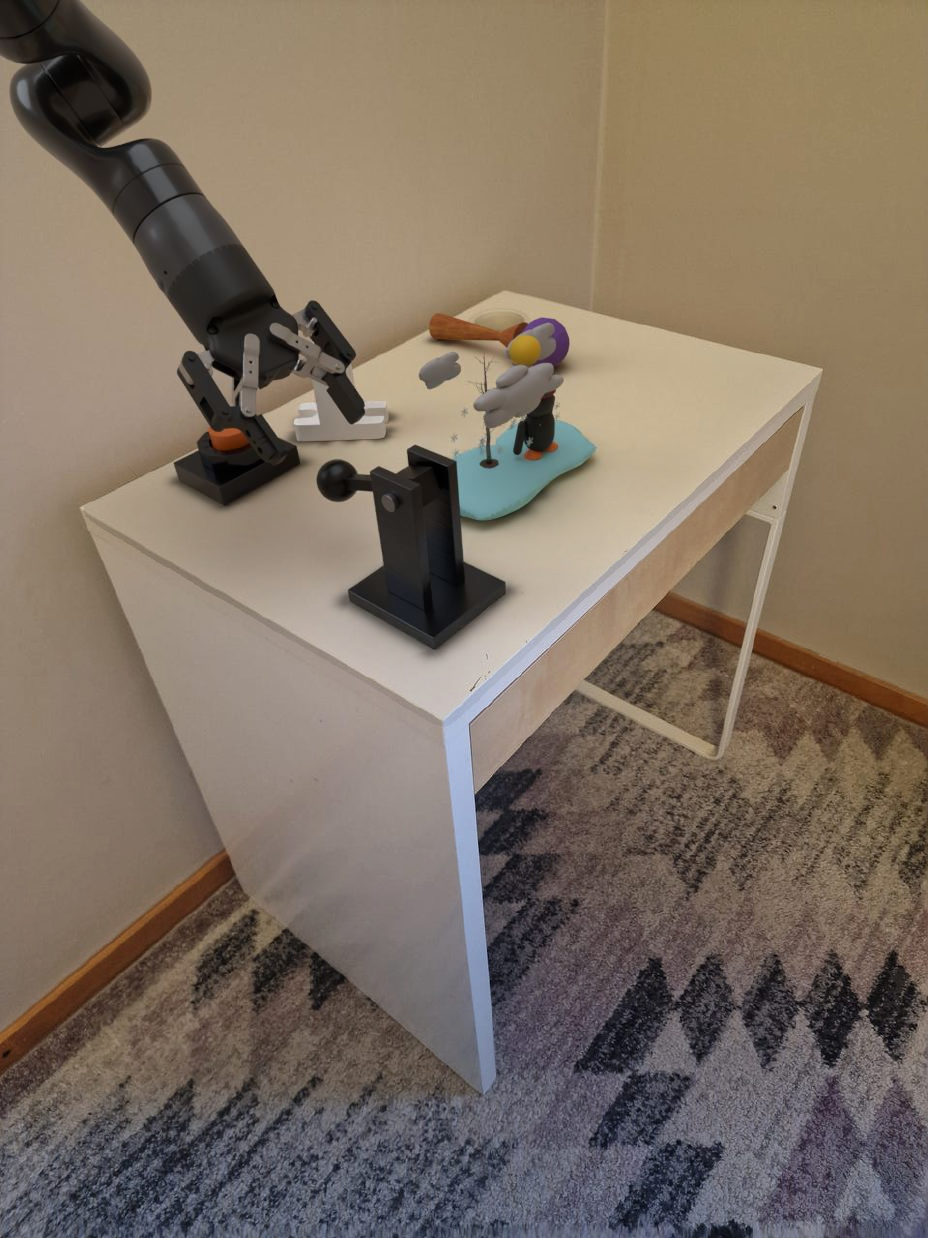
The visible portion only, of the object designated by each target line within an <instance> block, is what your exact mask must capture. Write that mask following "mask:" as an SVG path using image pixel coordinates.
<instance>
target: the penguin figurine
mask: <svg viewBox="0 0 928 1238" xmlns="http://www.w3.org/2000/svg"><path fill="white" fill-rule="evenodd" d="M554 331H555V328H554V326H553V324H551V323H545V324H542V325H540V326H538V327H535V328H534V329H532V330H531V329H530V330H528V331H525V332H523V333H521V334H520V335H518V336H517V337H516V338H515V339H513V340H512V341H511V342H510V343H509V345H508V347H507V348H506V349H505V356H506V359H508V360H510V361H511V362H512V365H513V366H512V367H510V368H508V369H507V370H506V371H504V372H503V373H502V374H500V376H498V377H497V379H496V380H495V387H492V388H489V389H488V381H487V380H488V379H487V371H490V370H491V368H489V367H490V365H491V363H493V359H494V357H495V355H493V357H492V359H491V361H489V362H488V363H487V364H488V365H487V366H486V362H485V361H486V359H485V353H483V362H481V360H479V362H480V363H482V364H483V373H484V374H483V376H484V378H483V381H484V383H480V388H479V386H478V385H479V383H478V380H477V379H475V380H476V382H475V386H476V388H477V391H480V394H481V395H479V396H478V397H477V398H476V399H475V400H474V402H473V404H472V407H473V409H474V410H475V411H476V412H485V413H484V414H483V417H482V419H483V427H484V428H485V433H484V435H485V436H484V437H481V439H479V440H478V441H479V443H478V446H477V447H473V448H472V449H468V450H466V451H463V452H461V453H459V451H460V449H457V448H455V449H454V450H455V451H454V452H453V455H452V458H451V459H452V460H455V461H456V462H457V474H458V488H459V503H460V517H464V518H468V519H472V520H477V521H491V520H494V519H498V518H502V517H503V516H507V515H509V514H512V513H513V512H516V511H518V510H520V509H521V508H523V507H524V506H525V505H527V504H528V503H529V502H531V501H532V500H533V499H534V498H535V497H536V496H537V495H538V494H539V493H540V492H541V491H542V490H544V488H545V487H546V486H548V484H550V483H551V482H552V481H553V480H554V479H556V478H557V477H559V476H561V475H562V474H565V473H566V472H569V471H572V470H573V469H576V468H577V467H580V466H581V465H582V464H584V463H586V462H587V460H588V459H589V458H590V457H591V456H592V455H593V454H594V453H595V452H596V450H597V446H596V445H595V444H594V443H593V442H591V441H590V440H589V439H588V438H587V437H585V435H583V432H581V430H579V429H578V427H576V426H574V425H573V424H571V423H569V422H566V421H562V420H559V419H558V418H560V412H558V411H557V410H558V409H557V408H560V403H561V402H558V401H557V402H556V396H555V395H554V394H555V393H556V391H557V389H559V388H560V387H561V386H562V385H563V384H564V382H565V379H564V377H563V376H561V375H558V374H555V375H554V372H555V371H554V368H555V367H553V365H552V364H551V363H541V364H537V365H535V366H531V365H533V364H534V363H535V362H536V361H537V360H542V359H544V358H546V357H548V356H550V355H551V354H552V353H553V352H554V351H555V349H556V341H555V339H554V338H552V337H550V336H551V335H552V334H553V333H554ZM474 358H475V359H478V358H477V356H474ZM459 359H460V356H459V353H457V352H456V351H451V352H447V353H445V354H443V355H441V356H438V357H436V358H433V359H430V360H429V361H427V362H426V363H425V364H424V365H423V366H421V368H420V370H419V371H418V378H419V381H422V382H423V383H424V385H425V386H426V389H427V390H433V389H435V388H438V387H440V386H442V384H443V383H445V382H447V381H451V380H453V379H455V378H456V377H458V376H459V375H460V374H461V372H462V367H461V364H460V363H458V362H457V361H458V360H459ZM495 363H499V361H495ZM467 382H469V383H470V381H469V380H467ZM469 383H468V384H465V385H469ZM471 384H474V382H473V381H471ZM483 385H484V386H483ZM483 387H484V389H483ZM555 402H556V404H555ZM468 409H469V408H468V407H465V406H463V409H462V410H460V413H461V415H460V417H462V416H463V417H466V414H468ZM554 410H555V411H556V414H555V415H554V414H553V411H554ZM518 418H520V419H519V422H517V419H518ZM512 419H513V420H512ZM509 422H511V423H510V425H509V426H508V428H507V429H506V430H505V431H503V432H502V433H501V434H500V435H499V436H498V437H497V438H496V440H495V444H491V433H493V431H494V429H496V428H498V427H499V428H500V427H501V426H503V425H505V424H506V423H509ZM491 429H492V430H491ZM452 435H453V436H450V439H451V442H453V443H455V441H456V440H458V433H454V432H453V434H452Z"/></svg>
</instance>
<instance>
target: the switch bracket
mask: <svg viewBox="0 0 928 1238" xmlns="http://www.w3.org/2000/svg"><path fill="white" fill-rule="evenodd" d="M406 455H407V456H406V457H407V466H424V467H433V470H434V473H435V476H436V479H437V482H438V485H439V488H440V491H441V496H440V497H438V498H437V499H435V500H434V501H432V502H431V503H429V504H428V505H426V506H425V507H423V505H422V495H421V486H420V484H419V483H416V482H414V481H412V480H409V479H407V478H405V477H403V476H400V475H398V474H396V473H397V472H396V473H395V472H393V471H391V470H389V469H386V468H384V467H383V466H380V465H378V466H376V467H375V468H373V469H371V470H370V471H369V475H370V477H371V484H372V490H373V492H372V495H373V496H372V497H373V503H374V511H375V518H376V523H377V530H378V536H379V544H380V551H381V558H382V563H383V564H382V566H379V568H377V569H376V570H374V571H373V572H372V573H370V574H369V575H367V576H366V577H364V578H363V579H361V580H359V581H358V582H357V583H355V584H354V585H353V586H351V587H350V588H348V589H347V595H348V600H349V601H350V602H351V603H353V604H355V605H357V606H358V607H360V608H362V609H364V610H365V611H367V612H369V613H370V614H372V615H373V616H376V617H377V618H379V619H381V620H382V621H384V622H386V623H388V624H390V625H391V626H393V627H394V628H397V629H398V630H399V631H402V632H403V633H405V634H407V635H409V636H410V637H412V638H414V639H416V640H417V641H419V642H421V643H423V644H424V645H426V646H428V647H430V648H432V649H433V650H436V649H437V648H438V647H440V646H441V645H442V644H444V643H445V642H446V641H447V640H448V639H449V638H452V636H453V635H454V634H456V633H457V632H459V631H460V630H461V629H462V628H464V627H465V626H466V625H468V624H469V623H470V622H471V621H472V620H473V619H475V618H476V617H477V616H479V615H480V614H481V613H482V612H484V611H485V610H486V609H487V608H488V607H490V606H491V605H493V604H494V603H495V602H496V601H498V600H499V599H500V598H501V597H502V596H503V595H505V594H506V592H507V584H506V583H507V582H506V581H505V580H503V579H501V578H498V577H497V576H495V575H492V574H490V573H488V572H486V571H485V570H482V569H480V568H478V567H476V566H474V565H472V564H470V563H468V562H465V561H464V560H465V559H464V549H463V548H464V547H463V546H464V545H463V531H462V519H461V518H462V516H460V503H459V488H458V474H457V462H456V461H455V460H452V458H449V457H447V456H445V455H443V454H440V453H438V452H435V451H432V450H430V449H428V448H425V447H423V446H420V445H418V444H413V445H412V446H410V447H408V448H407V449H406Z"/></svg>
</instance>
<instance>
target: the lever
mask: <svg viewBox="0 0 928 1238" xmlns="http://www.w3.org/2000/svg"><path fill="white" fill-rule="evenodd" d="M396 474H398V475H400V476H403V477H405V478H407V479H409V480H412V481H414V482H416V483H419V484H420V486H421V495H422V505H423V507H425V506H426V505H428V504H429V503H431V502H432V501H434V500H435V499H437V498H438V497H440V496H441V491H440V488H439V485H438V482H437V479H436V476H435V473H434V470H433V467H424V466H408V465H407V466H406V467H404V468H403V469H401V470H399V471H397V472H396ZM315 480H316V486H317V487H316V488H317V489H318V492H319V493H320V494H321V495H322V496H323V497H324V498H325V499H326V500H327V501H330V502H333V503H343V502H346V501H348V500H351V499H352V498H353V497H354V496H355V495H356V493H357V492H368V493H369V492H371V493H373V490H372V484H371V477H370V474H365V473H364V474H363V473H358V471H357V469H356V468H355V466H354V465H353V464H352V463H351V462H349V461H346V460H345V459H339V458H335V459H330V460H328V461H326V462H325V463H323V464H322V465H321V466H320V468H319V469H318V470H317V473H316V479H315Z"/></svg>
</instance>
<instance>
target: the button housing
mask: <svg viewBox="0 0 928 1238" xmlns="http://www.w3.org/2000/svg"><path fill="white" fill-rule="evenodd" d="M278 438H279V440H280V441H281V442H282V444H283V445H284V447H285V448H286V450H287V456H286V457H285V459H284V460H283V461H282V462H281V463H279V464H277V465H275V466H273V465H272V464H271V463H270V462H269V461H267V462H265V461H264V460H262V459H261V458H260V457H259V455H258V454H257V452H256V451H255V450H254V448H253V447H252V445H251V444H250V443H249V444H247V445H245V446H243V447H241V448H237V449H232V450H216V449H215V448H214V447H213V445H212V442H211V438H210V435H209V431H205V432H204V433H203V434H202V435H201V436H200V437H199V438H198V440H197V441H196V446H197V450H195V451H194V452H192V453H190V454H188V455H186V456H184V457H182V458H180V459H178V460H176V461H174V462H172V464H173V466H174V469H175V473H176V475H177V476H176V477H177V479H178V481H179V482H180V483H182V484H184V485H186V486H188V487H190V489H191V488H192V489H193V490H195V491H197V492H199V493H201V494H202V495H204V496H206V497H207V498H210V499H212V500H213V501H215V502H217V503H218V504H220V505H222V506H224V507H225V506H227V505H229V504H230V503H233V502H234V501H236V500H238V499H240V498H241V497H243V496H245V495H247V494H249V493H251V492H252V491H254V490H256V489H258V488H259V487H262V486H264V485H265V484H267V483H269V482H270V481H273V480H274V479H276V478H278V477H279V476H281V475H283V474H285V473H287V472H288V471H290V470H293V469H294V468H295V467H298V466H299V465H301V460H300V454H299V450H298V446H297V445H296V444H294V443H291V442H290V441H287V440H285V439H283V438H281V437H278Z"/></svg>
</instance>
